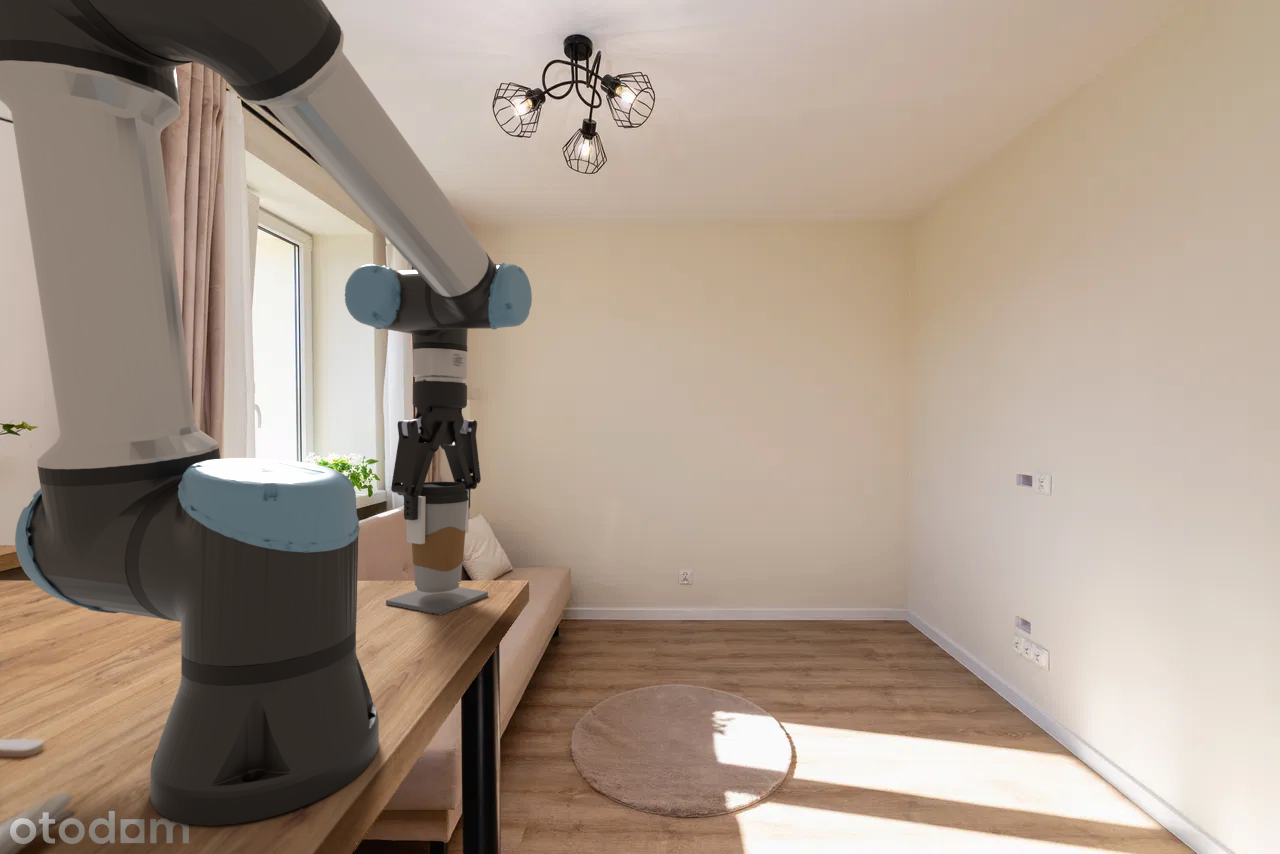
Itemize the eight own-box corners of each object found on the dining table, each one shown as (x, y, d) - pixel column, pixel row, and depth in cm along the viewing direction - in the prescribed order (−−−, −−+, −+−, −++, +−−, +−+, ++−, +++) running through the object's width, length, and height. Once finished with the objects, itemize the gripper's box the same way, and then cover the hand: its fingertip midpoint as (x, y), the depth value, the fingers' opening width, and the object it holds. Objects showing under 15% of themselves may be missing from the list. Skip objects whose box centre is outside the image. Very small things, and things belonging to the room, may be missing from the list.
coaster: (440, 615, 84) (440, 610, 84) (385, 604, 88) (385, 600, 88) (487, 595, 93) (487, 591, 93) (436, 587, 97) (436, 583, 97)
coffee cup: (454, 576, 97) (455, 480, 96) (477, 588, 90) (478, 485, 90) (399, 585, 91) (400, 483, 91) (419, 599, 85) (421, 489, 84)
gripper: (404, 376, 79) (402, 554, 79) (506, 384, 98) (504, 528, 99) (361, 376, 82) (360, 548, 83) (468, 384, 101) (466, 523, 102)
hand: (438, 537), depth 91 cm, fingers closed on coffee cup, 8 cm apart
